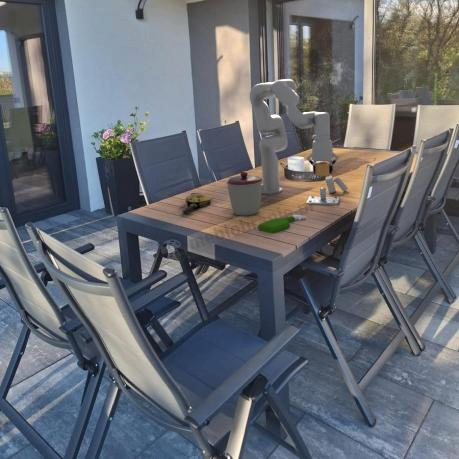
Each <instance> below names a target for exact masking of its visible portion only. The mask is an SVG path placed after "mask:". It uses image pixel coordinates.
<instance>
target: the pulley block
mask: <svg viewBox="0 0 459 459" xmlns="http://www.w3.org/2000/svg"><path fill="white" fill-rule="evenodd" d="M213 199H214V197H211V196H210V195H209V194H204V193H199V192H198V193H197V192H196V193H195V192H193V193H191V194H190V195H187V196H186V198H185V201H184V202H185V205H186V206H187V207H186V208H184V209H183V210H182V212H183V214H188V213H189V212H192V211H193V210H199V209H202V208H205V207H208V206H210V205H211V204H212V201H213Z"/></svg>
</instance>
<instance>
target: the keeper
mask: <svg viewBox="0 0 459 459" xmlns="http://www.w3.org/2000/svg"><path fill="white" fill-rule="evenodd" d="M340 200H341V196H327V188H326V187H320V188H319V196H313V195H312V196H311V195H310V196H309V197H308V198H307V200H306V202H305V205H322V206H323V205H325V206H326V205H327V206H328V205H329V206H330V205H332V206H337V205H339V202H340Z"/></svg>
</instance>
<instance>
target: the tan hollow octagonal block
mask: <svg viewBox="0 0 459 459" xmlns="http://www.w3.org/2000/svg"><path fill="white" fill-rule="evenodd" d="M329 166H330V163H329V162H328V161H317V162H316V164H315V171H316V173H315V176H317V177H328V176H331V174H330V173H329Z"/></svg>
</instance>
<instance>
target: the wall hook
mask: <svg viewBox="0 0 459 459" xmlns="http://www.w3.org/2000/svg"><path fill="white" fill-rule="evenodd" d="M325 183H326V187H327V190H328V193H329V194H333V193H336V186H335V183H336V184H337V185H338V186H339V188H340V189H341V191H342V192H344V193H345V192H346V191H347V190H349V188H348V186H347V185H346V184H345V182H343V180H342V179H341V178H340V177H339V176H335V178H333V175H329V176H325Z"/></svg>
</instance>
